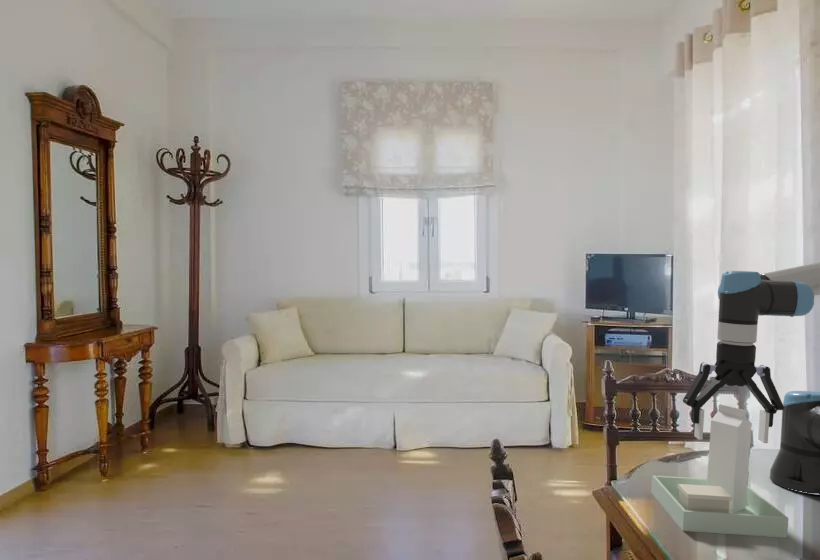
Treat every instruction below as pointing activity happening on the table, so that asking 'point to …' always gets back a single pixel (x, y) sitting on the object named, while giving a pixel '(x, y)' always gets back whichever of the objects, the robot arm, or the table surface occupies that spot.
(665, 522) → the table surface
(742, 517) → the tray
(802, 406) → the robot arm
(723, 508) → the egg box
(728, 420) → the milk
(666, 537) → the table surface
